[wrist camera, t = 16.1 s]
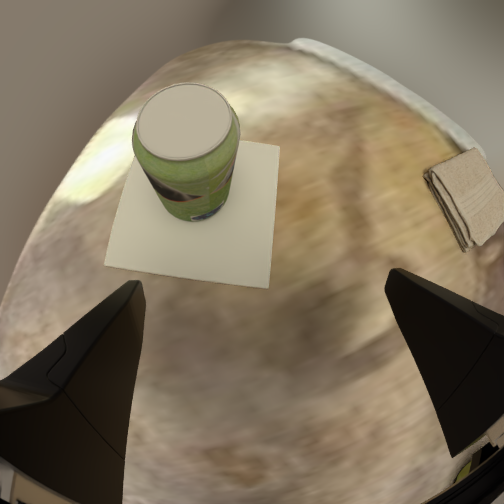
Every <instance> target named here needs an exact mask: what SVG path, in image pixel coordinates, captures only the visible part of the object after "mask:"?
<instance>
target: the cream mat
mask: <svg viewBox="0 0 504 504" xmlns="http://www.w3.org/2000/svg"><path fill="white" fill-rule="evenodd" d="M279 151H280V146H275V145H269V144H263V143H256V142H249V141H242V140H239V145H238V150H237V155H236V160H235V165H234V170H233V175H232V180H231V185H230V190H229V195H228V198H227V201H226V202H225V204H224V206H223V207H222V208H221V209H220V211H218V212H217V213H216V214H215V215H213V216H212V217H210V218H207V219H205V220H201V221H193V222H191V221H184V220H181V219H178V218H176V217H174V216H173V215H172V214H170V213H169V212H168V211H167V210H166V209H165V207H164V206H163V204H162V202H161V200H160V199H159V197H158V195H157V194H156V192H155V190H154V188H153V187H152V185H151V183H150V181H149V180H148V178H147V176H146V174H145V173H144V171H143V169H142V167H141V166H140V164H139V162H138V160H137V158H136V157H135V156H134V159H133V162H132V164H131V167H130V170H129V173H128V176H127V179H126V182H125V186H124V189H123V192H122V195H121V199H120V202H119V206H118V209H117V213H116V216H115V220H114V224H113V228H112V232H111V236H110V240H109V244H108V249H107V253H106V258H105V262H104V265H105V266H107V267H112V268H118V269H124V270H131V271H137V272H143V273H150V274H156V275H163V276H170V277H176V278H183V279H190V280H198V281H205V282H213V283H220V284H228V285H236V286H244V287H252V288H261V289H268V288H269V279H270V268H271V256H272V244H273V232H274V220H275V207H276V194H277V180H278V166H279Z"/></svg>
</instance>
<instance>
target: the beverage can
mask: <svg viewBox="0 0 504 504" xmlns="http://www.w3.org/2000/svg"><path fill="white" fill-rule="evenodd" d="M239 140H240V124H239V120H238V117H237V115H236V113H235V111H234V110H233V108H232V107H231V106H230V104H229V103H228V101H227V100H226V99H225V97H224V96H223V95H222V94H221V93H219V92H218V91H217V90H215V89H213V88H212V87H209V86H207V85H204V84H199V83H179V84H174V85H171V86H168V87H166V88H163V89H161V90H159V91H158V92H156V93H155V94H153V95H152V96H151V97H150V98H149V99H148V100H147V101H146V102H145V104H144V105H143V106H142V108H141V110H140V111H139V114H138V117H137V121H136V123H135V126H134V129H133V135H132V146H133V151H134V154H135V157H136V158H137V160H138V162H139V164H140V166H141V167H142V169H143V171H144V173H145V174H146V176H147V178H148V180H149V181H150V183H151V185H152V187H153V188H154V190H155V192H156V194H157V195H158V197H159V199H160V200H161V202H162V204H163V206H164V207H165V209H166V210H167V211H168V212H169V213H170V214H172V215H173V216H174V217H176V218H178V219H181V220H184V221H191V222H193V221H201V220H205V219H207V218H210V217H212V216H213V215H215V214H216V213H217V212H218V211H220V209H221V208H222V207H223V206H224V204H225V202H226V201H227V198H228V195H229V190H230V185H231V180H232V175H233V170H234V165H235V160H236V155H237V150H238V145H239Z"/></svg>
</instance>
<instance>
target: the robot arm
mask: <svg viewBox="0 0 504 504" xmlns="http://www.w3.org/2000/svg"><path fill="white" fill-rule="evenodd" d="M385 294H386V296H387V299H388V301H389V304H390V306H391V309H392V311H393V314H394V316H395V319H396V321H397V324H398V326H399V328H400V330H401V332H402V334H403V336H404V338H405V340H406V343H407V345H408V347H409V349H410V351H411V353H412V356H413V358H414V360H415V362H416V364H417V367H418V369H419V371H420V374H421V376H422V378H423V381H424V383H425V385H426V388H427V390H428V393H429V395H430V398H431V400H432V403H433V405H434V408H435V411H436V414H437V417H438V419H439V422H440V425H441V428H442V431H443V433H444V436H445V439H446V442H447V446H448V449H449V452H450V455H451V457H452V458H453V457H455V456H456V455H458V454H460V453H461V452H463V451H464V450H466V449H467V448H468V447H470V446H471V445H473V444H474V443H476V442H477V441H478V440H480V439H481V438H482V437H484V436H485V435H487V437H488V439H489V441H490V442H489V443H488V444H486V445H485V446H484V447H482V448H481V449H480V450H479V451H477V452H476V453H475V454H473V457H472V462H471V466H470V470H469V473H468V474H467V475H466V476H464V477H463V478H461V479H460V480H459V481H457V482H456V483H454V484H453V485H451V486H450V487H448V488H446V489H445V490H443V491H442V492H440V493H438V494H437V495H435V496H433V497H432V498H430V499H428V500H426V501H425V502H423V503H421V504H504V316H503V315H501V314H498V313H496V312H494V311H492V310H490V309H487V308H485V307H483V306H481V305H479V304H477V303H475V302H473V301H471V300H469V299H467V298H465V297H463V296H460V295H458V294H456V293H454V292H452V291H450V290H448V289H446V288H444V287H441V286H439V285H437V284H435V283H433V282H431V281H428V280H426V279H424V278H422V277H420V276H417V275H415V274H413V273H411V272H408V271H406V270H404V269H402V268H393V269H391V270H390V272H389V275H388V278H387V281H386V284H385ZM145 310H146V300H145V296H144V291H143V287H142V283H141V281H140V280H129V281H127V282H126V283H125V284H123V285H122V286H121V287H120V288H118V289H117V290H116V291H114V292H113V293H112V294H111V295H109V296H108V297H107V298H106V299H104V300H103V301H102V302H101V303H99V304H98V305H97V306H96V307H94V308H93V309H92V310H91V311H89V312H88V313H87V314H86V315H84V316H83V317H82V318H81V319H80V320H78V321H77V322H76V323H75V324H73V325H72V326H71V327H70V328H69V329H67V330H66V331H65V332H64V333H63V334H64V335H63V334H61V335H60V336H59V337H58V338H57V339H56V340H54V341H53V342H52V343H51V344H50V345H48V346H47V347H46V348H45V349H43V350H42V351H41V352H39V353H38V354H37V355H36V356H34V357H33V358H32V359H30V360H29V361H27V362H26V363H25V364H23V365H22V366H21V367H19V368H18V369H17V370H15V371H14V372H13V373H11V374H10V375H9V376H7V377H6V378H4V379H2V380H0V504H122V499H123V480H124V467H125V461H124V460H125V454H126V444H127V435H128V427H129V420H130V413H131V406H132V399H133V393H134V387H135V381H136V375H137V370H138V364H139V359H140V354H141V349H142V342H143V331H144V320H145Z"/></svg>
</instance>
